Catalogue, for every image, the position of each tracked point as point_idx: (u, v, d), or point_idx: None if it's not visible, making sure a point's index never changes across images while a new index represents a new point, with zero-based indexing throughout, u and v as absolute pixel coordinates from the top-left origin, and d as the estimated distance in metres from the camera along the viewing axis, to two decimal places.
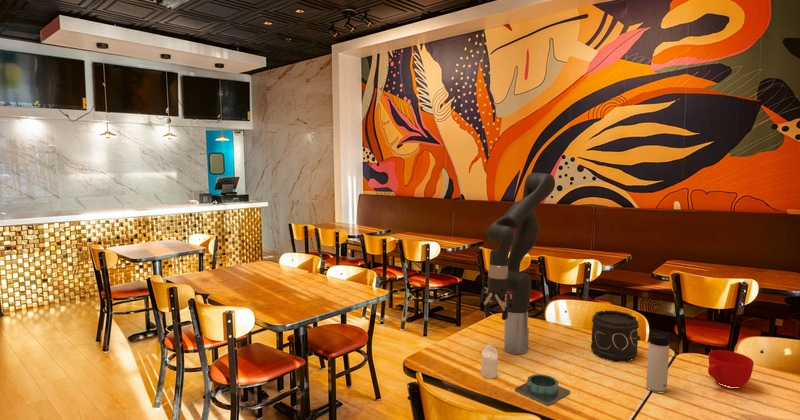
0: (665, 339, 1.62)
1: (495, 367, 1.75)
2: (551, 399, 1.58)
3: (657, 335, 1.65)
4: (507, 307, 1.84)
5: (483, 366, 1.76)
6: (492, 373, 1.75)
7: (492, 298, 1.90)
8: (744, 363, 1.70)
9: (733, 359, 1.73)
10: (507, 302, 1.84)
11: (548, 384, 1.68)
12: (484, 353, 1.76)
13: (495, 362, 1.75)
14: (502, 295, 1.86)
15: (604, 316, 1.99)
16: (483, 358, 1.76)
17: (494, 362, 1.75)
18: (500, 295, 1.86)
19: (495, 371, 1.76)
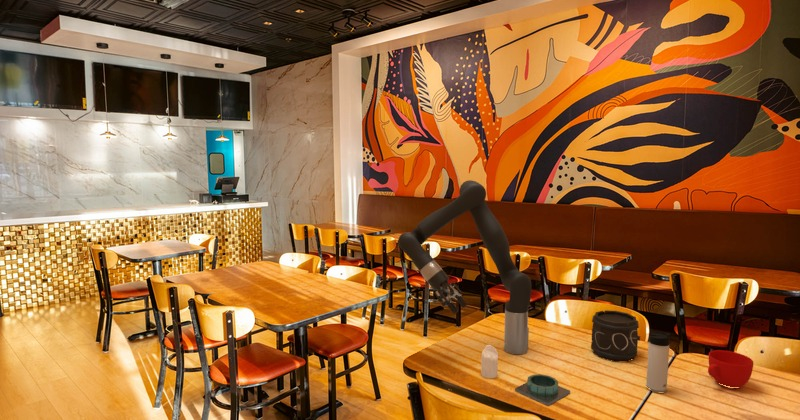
0: (665, 339, 1.62)
1: (495, 367, 1.75)
2: (551, 399, 1.58)
3: (657, 335, 1.65)
4: None
5: (483, 366, 1.76)
6: (492, 373, 1.75)
7: None
8: (744, 363, 1.70)
9: (733, 359, 1.73)
10: None
11: (548, 384, 1.68)
12: (484, 353, 1.76)
13: (495, 362, 1.75)
14: None
15: (604, 316, 1.99)
16: (483, 358, 1.76)
17: (494, 362, 1.75)
18: None
19: (495, 371, 1.76)
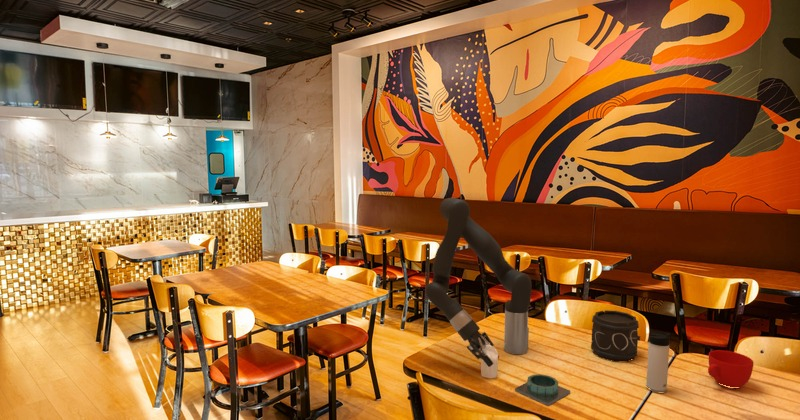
0: (665, 339, 1.62)
1: (495, 367, 1.75)
2: (551, 399, 1.58)
3: (657, 335, 1.65)
4: None
5: (483, 366, 1.76)
6: (492, 373, 1.75)
7: None
8: (744, 363, 1.70)
9: (733, 359, 1.73)
10: None
11: (548, 384, 1.68)
12: None
13: (495, 362, 1.75)
14: None
15: (604, 316, 1.99)
16: None
17: (494, 362, 1.75)
18: None
19: (495, 371, 1.76)
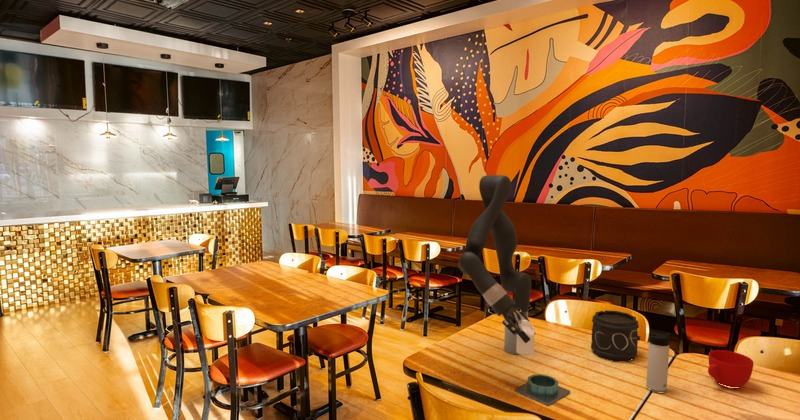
0: (665, 339, 1.62)
1: (532, 343, 1.65)
2: (551, 399, 1.58)
3: (657, 335, 1.65)
4: None
5: (519, 342, 1.66)
6: (529, 350, 1.65)
7: None
8: (744, 363, 1.70)
9: (733, 359, 1.73)
10: None
11: (548, 384, 1.68)
12: None
13: (532, 338, 1.64)
14: None
15: (604, 316, 1.99)
16: None
17: (531, 339, 1.64)
18: None
19: (532, 348, 1.65)
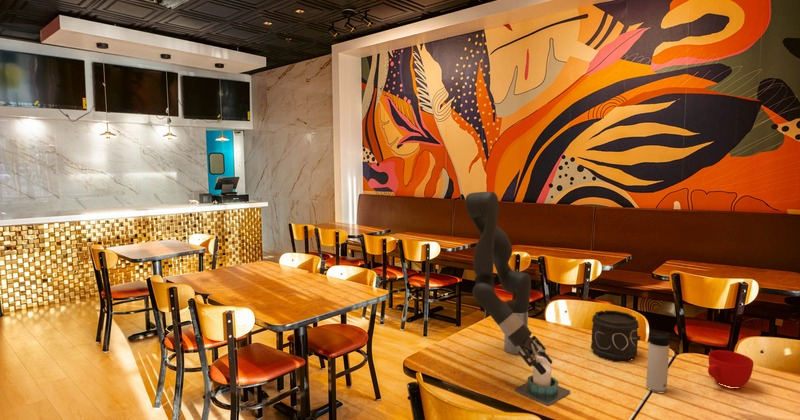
0: (665, 339, 1.62)
1: (549, 381, 1.62)
2: (551, 399, 1.58)
3: (657, 335, 1.65)
4: None
5: (535, 380, 1.63)
6: None
7: None
8: (744, 363, 1.70)
9: (733, 359, 1.73)
10: None
11: None
12: None
13: (549, 375, 1.62)
14: None
15: (604, 316, 1.99)
16: (535, 371, 1.63)
17: (548, 376, 1.62)
18: None
19: (548, 385, 1.63)
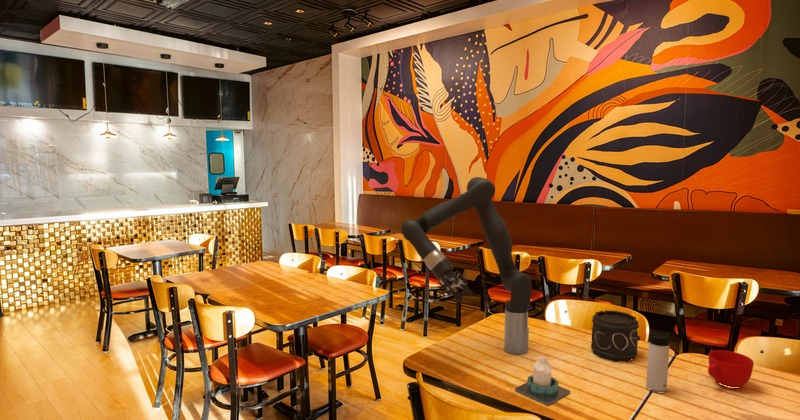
0: (665, 339, 1.62)
1: (549, 381, 1.62)
2: (551, 399, 1.58)
3: (657, 335, 1.65)
4: None
5: (535, 380, 1.63)
6: None
7: None
8: (744, 363, 1.70)
9: (733, 359, 1.73)
10: None
11: None
12: (537, 366, 1.63)
13: (549, 376, 1.62)
14: None
15: (604, 316, 1.99)
16: (536, 371, 1.63)
17: (548, 376, 1.62)
18: None
19: (549, 385, 1.63)
